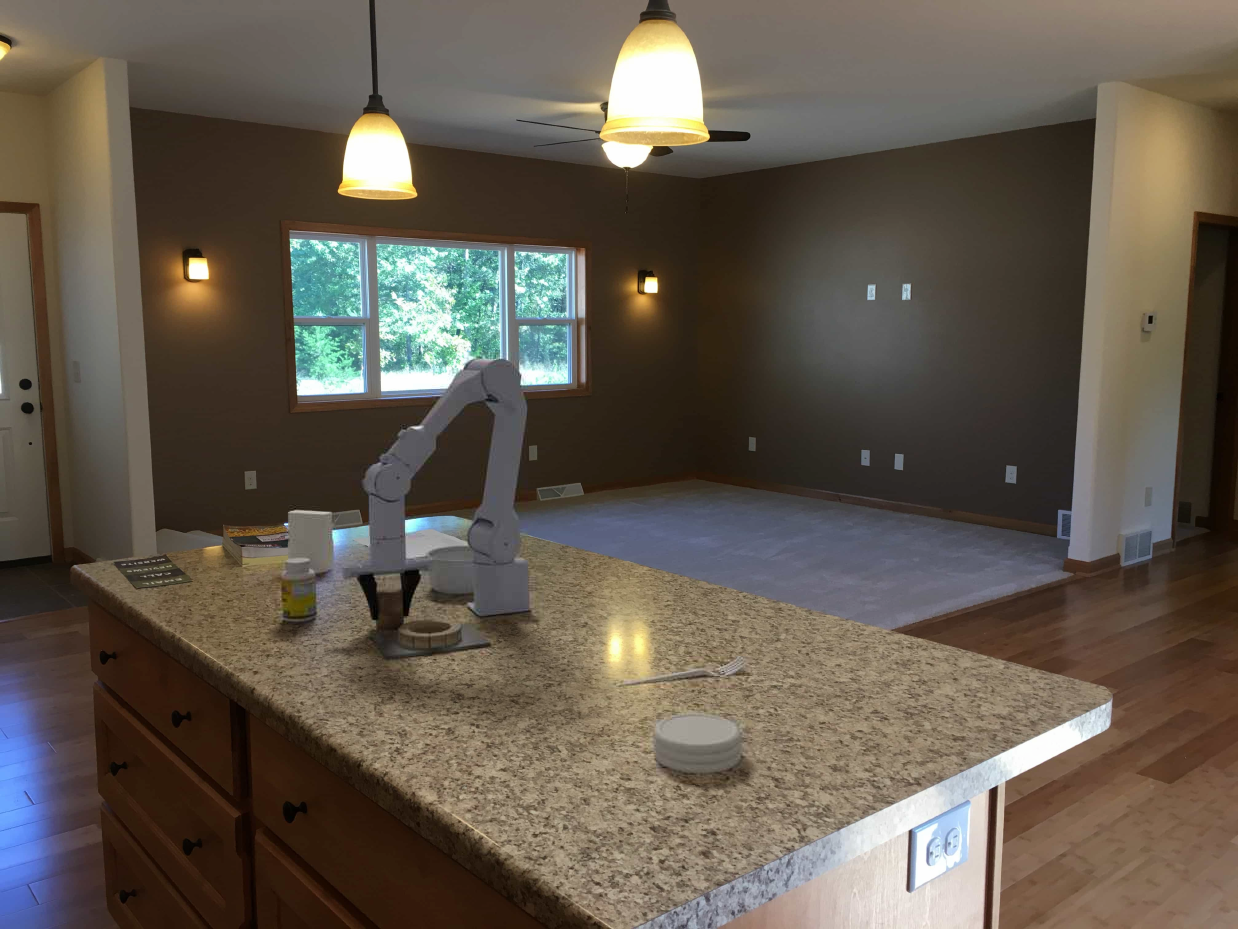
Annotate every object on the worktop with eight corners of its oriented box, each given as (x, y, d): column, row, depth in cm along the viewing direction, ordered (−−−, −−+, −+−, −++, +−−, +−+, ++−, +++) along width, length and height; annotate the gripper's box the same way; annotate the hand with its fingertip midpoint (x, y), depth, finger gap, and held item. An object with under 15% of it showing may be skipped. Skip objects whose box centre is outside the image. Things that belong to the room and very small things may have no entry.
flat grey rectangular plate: (468, 625, 162) (468, 612, 162) (490, 645, 151) (490, 631, 151) (371, 637, 155) (371, 623, 155) (387, 659, 144) (386, 644, 144)
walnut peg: (400, 621, 164) (399, 586, 164) (406, 628, 160) (405, 593, 160) (373, 624, 163) (372, 589, 162) (379, 631, 159) (378, 595, 158)
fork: (610, 687, 135) (610, 674, 135) (739, 667, 142) (739, 655, 142) (618, 695, 132) (618, 682, 132) (750, 675, 139) (749, 662, 139)
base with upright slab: (280, 572, 200) (277, 514, 199) (306, 563, 209) (304, 507, 207) (318, 575, 198) (315, 517, 196) (342, 565, 206) (341, 509, 205)
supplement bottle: (283, 615, 168) (280, 557, 167) (316, 613, 169) (314, 555, 168) (282, 624, 162) (279, 564, 161) (317, 622, 164) (314, 562, 163)
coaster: (734, 739, 116) (734, 711, 116) (747, 776, 106) (748, 745, 106) (650, 740, 116) (650, 712, 115) (656, 777, 106) (656, 746, 105)
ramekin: (489, 596, 181) (489, 560, 180) (419, 596, 181) (418, 559, 181) (499, 579, 194) (499, 545, 194) (434, 579, 195) (433, 545, 194)
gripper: (425, 528, 166) (427, 606, 168) (338, 535, 160) (340, 615, 162) (435, 536, 160) (437, 616, 162) (345, 543, 154) (348, 627, 155)
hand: (389, 617), depth 161 cm, fingers closed on walnut peg, 4 cm apart
